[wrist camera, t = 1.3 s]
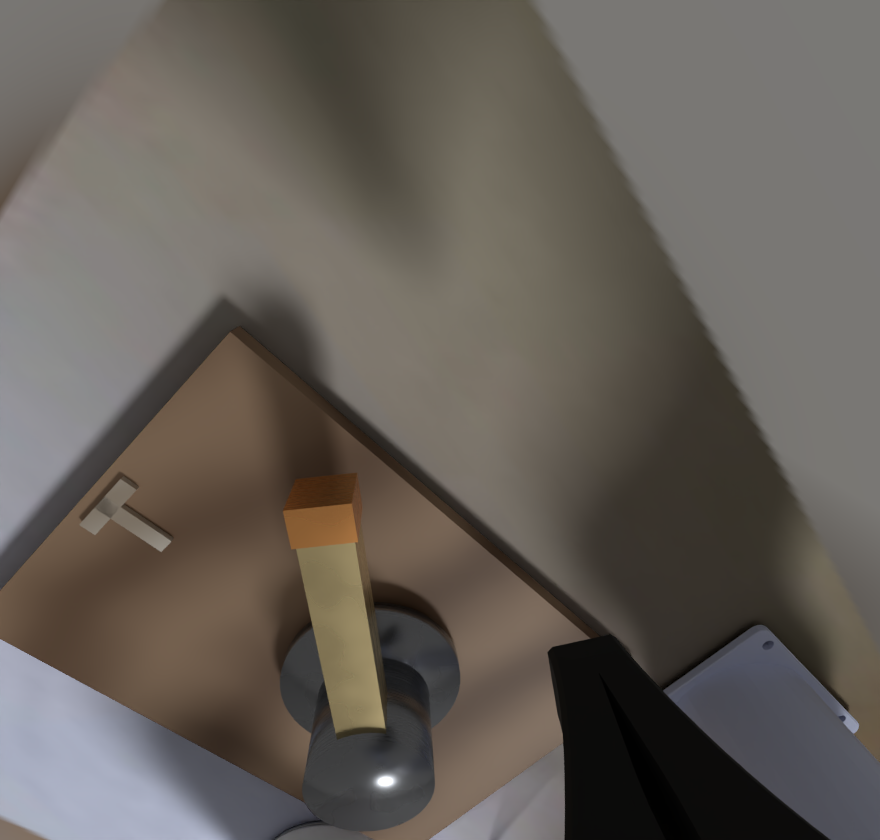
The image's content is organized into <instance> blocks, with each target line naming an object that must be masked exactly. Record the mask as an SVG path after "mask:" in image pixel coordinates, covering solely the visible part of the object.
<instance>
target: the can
mask: <svg viewBox="0 0 880 840" xmlns="http://www.w3.org/2000/svg"><path fill="white" fill-rule="evenodd" d="M274 840H373V839H371V838H370V837H368V836H366V835H364V834H362V833H360V832H358V831H351V830H345V829H341V828H337V827H334V826H332V825H329V824H327V823H325V822H323V821H317V822H310V823H305V824H301V825H298V826H295V827H293V828H291V829H288V830H287V831H285V832H283V833H282V834H280V835H279V836H278V837H277V838H275V839H274Z"/></svg>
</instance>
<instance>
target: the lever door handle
mask: <svg viewBox="0 0 880 840" xmlns="http://www.w3.org/2000/svg"><path fill="white" fill-rule="evenodd" d="M362 508H363V507H362V501H361V494H360V488H359V481H358V475H357V473H349V474H339V475H330V476H320V477H310V478H301V479H296V480H295V482H294V485H293V487H292V490H291V492H290V495H289V497H288V499H287V502H286V504H285V507H284V509H283V514H284V519H285V523H286V528H287V533H288V537H289V542H290V546H291V549H296V551H297V555H298V560H299V565H300V569H301V574H302V579H303V583H304V588H305V593H306V597H307V602H308V607H309V611H310V616H311V622H310V623H308V624H307V625H306V626H305V627H304V628H303V629H302V630H301V631H300V632H299V633H298V634H297V635H296V637H295V638H294V639H293V641H292V642H291V644H290V646H289V648H288V650H287V653H286V655H285V659H284V662H283V666H282V670H281V675H280V691H281V697H282V699H283V702H284V705H285V707H286V708H287V710H288V712H289V713H290V715H291V716H292V717H293V719H294V720H295V721H296V722H297V723H298V724H299V725H300V726H301V727H303V728H304V729H305V730H307V731H308V732H309V733H311V738H310V744H309V750H308V756H307V762H306V767H305V773H304V779H303V785H302V794H303V798H304V801H305V803H306V805H307V807H308V808H309V810H310V811H311V812H312V813H313V814H314V815H315V816H316V817H317V818H319V819H320V820H322V821H323V822H325V823H327V824H329V825H332V826H334V827H337V828H341V829H345V830H351V831H378V830H384V829H388V828H392V827H395V826H398V825H400V824H403V823H405V822H407V821H409V820H410V819H412V818H414V817H415V816H416V815H418V814H419V813H420V812H421V811H422V810H423V809H424V808H425V807H426V806H427V805H428V803H429V802H430V800H431V798H432V796H433V793H434V789H435V774H434V759H433V743H432V728H433V727H434V726H435V725H437V724H438V723H439V722H440V721H441V720H442V719H443V718H444V717H445V716H446V715H447V713H448V712H449V711H450V709H451V708H452V706H453V704H454V702H455V701H456V698H457V695H458V692H459V687H460V668H459V661H458V655H457V652H456V649H455V646H454V644H453V642H452V640H451V638H450V637H449V635H448V634H447V633H446V632H445V630H444V629H443V628H442V627H441V626H440V625H439V624H438V623H436V622H435V621H434V620H432V619H431V618H429V617H428V616H426V615H424V614H422V613H421V612H419V611H416V610H414V609H411V608H409V607H405V606H401V605H398V604H392V603H385V602H373V596H372V590H371V583H370V577H369V570H368V564H367V558H366V551H365V545H364V538H363V532H362V526H361V516H362Z"/></svg>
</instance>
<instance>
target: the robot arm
mask: <svg viewBox="0 0 880 840" xmlns="http://www.w3.org/2000/svg"><path fill="white" fill-rule="evenodd" d="M547 653H548V659H549V665H550V671H551V678H552V684H553V690H554V696H555V702H556V708H557V714H558V718H559V721H560V725H561V729H562V733H563V746H564V770H565V840H880V763H879V762H878V761H877V760H876V759H875V757H874V756H873V755H872V754H871V753H870V752H869V751H868V750H867V749H866V747H865V746H864V745H863V744H862V743H861V742H860V741H859V740H858V739H857V737H856V736H855V735H854V734H853V733H855V732H856V731H857V730H858V728H859V724H858V722H857V721H856V720H855V719H854V718H853V717H852V715H851V714H850V713H849V712H848V711H847V710H846V709H845V708H844V707H843V706H842V705H841V704H840V703H839V702H838V701H837V700H836V699H835V698H834V697H833V696H832V695H831V694H830V693H829V692H828V690H827V689H826V688H825V687H824V686H823V685H822V684H821V683H820V682H819V681H818V680H817V679H816V678H815V677H814V676H813V675H812V674H811V673H810V672H809V671H808V670H807V669H806V668H805V666H804V665H803V664H802V663H801V662H800V661H799V660H798V659H797V658H796V657H795V656H794V655H793V654H792V653H791V652H790V651H789V650H788V649H787V648H786V647H785V646H784V645H783V644H782V642H781V641H780V640H779V639H778V638H777V637H776V636H775V635H774V634H773V633H772V632H771V631H770V630H769V629H768V628H767V627H766V626H764V625H756V626H753V627H751V628H750V629H749V630H747V631H746V632H744V633H743V634H742V635H740V636H739V637H737V638H736V639H735V640H733V641H732V642H730V643H729V644H727V645H726V646H725V647H723V648H722V649H720V650H719V651H718V652H716V653H715V654H713V655H712V656H711V657H709V658H708V659H706V660H705V661H704V662H702V663H701V664H699V665H698V666H697V667H695V668H694V669H692V670H691V671H690V672H688V673H687V674H685V675H684V676H683V677H681V678H680V679H678V680H677V681H676V682H674V683H673V684H671V685H670V686H668V687H667V688H666V689H664V690H662V689H661V688H660V687H659V686H658V685H657V684H656V683H655V682H654V681H653V680H652V679H651V678H650V677H649V676H648V674H647V673H646V672H645V671H644V670H643V669H642V668H641V667H640V666H639V665H638V663H637V662H636V661H635V660H634V659H633V658H632V657H631V655H630V654H629V653H628V652H627V651H626V650H625V648H624V647H623V646H622V645H621V644H620V642H619V641H618V640H617V639H616V638H615V637H614V636H612V635H610V634H609V635H605V636H600V637H596V638H591V639H586V640H582V641H577V642H573V643H568V644H563V645H559V646H554V647H552V648H551V649H550V650H549V651H548V652H547Z"/></svg>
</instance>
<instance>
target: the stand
mask: <svg viewBox="0 0 880 840" xmlns="http://www.w3.org/2000/svg"><path fill="white" fill-rule="evenodd" d="M349 473H357V475H358V481H359V488H360V494H361V501H362V507H363V508H362V516H361V526H362V532H363V538H364V545H365V551H366V558H367V564H368V570H369V577H370V583H371V590H372V596H373V602H385V603H392V604H398V605H401V606H405V607H409V608H411V609H414V610H416V611H419V612H421V613H422V614H424V615H426V616H428V617H429V618H431V619H432V620H434V621H435V622H436V623H438V624H439V625H440V626H441V627H442V628H443V629H444V630H445V632H446V633H447V634H448V635H449V637H450V638H451V640H452V642H453V644H454V646H455V649H456V652H457V655H458V661H459V668H460V687H459V692H458V695H457V698H456V701H455V702H454V704H453V706H452V708H451V709H450V711H449V712H448V713H447V715H446V716H445V717H444V718H443V719H442V720H441V721H440V722H439V723H438V724H437V725H435V726H434V727H433V728H432V743H433V759H434V774H435V789H434V793H433V796H432V798H431V800H430V802H429V803H428V805H427V806H426V807H425V808H424V809H423V810H422V811H421V812H420V813H419V814H418V815H416V816H415V817H414V818H412V819H410V820H409V821H407V822H405V823H403V824H400V825H398V826H395V827H392V828H388V829H384V830H378V831H358V832H360V833H362V834H364V835H366V836H368V837H370V838H371V839H373V840H429V839H430V838H432V837H433V836H434V835H436V834H437V833H439V832H440V831H441V830H443V829H444V828H445V827H447V826H448V825H450V824H451V823H452V822H454V821H455V820H457V819H458V818H459V817H461V816H462V815H463V814H465V813H466V812H468V811H469V810H470V809H472V808H473V807H475V806H476V805H477V804H479V803H480V802H481V801H483V800H484V799H486V798H487V797H488V796H490V795H491V794H493V793H494V792H495V791H497V790H498V789H500V788H501V787H502V786H504V785H505V784H506V783H508V782H509V781H511V780H512V779H513V778H515V777H516V776H518V775H519V774H520V773H522V772H523V771H524V770H526V769H527V768H529V767H530V766H531V765H533V764H534V763H536V762H537V761H538V760H540V759H541V758H542V757H544V756H545V755H547V754H548V753H549V752H551V751H552V750H554V749H555V748H556V747H558V746H559V745H560V744H562V743H563V733H562V729H561V725H560V721H559V718H558V714H557V708H556V702H555V696H554V690H553V684H552V678H551V671H550V665H549V659H548V653H547V652H548V651H549V650H550V649H551V648H552V647H554V646H559V645H563V644H568V643H573V642H577V641H582V640H586V639H591V638H596V637H600V636H599V635H598V634H597V633H596V632H594V631H593V630H592V629H591V628H590V627H589V626H587V625H586V624H585V623H584V622H583V621H582V620H581V619H579V618H578V617H577V616H576V615H575V614H574V613H572V612H571V611H570V610H569V609H568V608H567V607H565V606H564V605H563V604H562V603H561V602H560V601H558V600H557V599H556V598H555V597H554V596H553V595H551V594H550V593H549V592H548V591H547V590H546V589H545V588H543V587H542V586H541V585H540V584H539V583H538V582H536V581H535V580H534V579H533V578H532V577H531V576H529V575H528V574H527V573H526V572H525V571H524V570H522V569H521V568H520V567H519V566H518V565H517V564H515V563H514V562H513V561H512V560H511V559H510V558H509V557H507V556H506V555H505V554H504V553H503V552H502V551H500V550H499V549H498V548H497V547H496V546H495V545H493V544H492V543H491V542H490V541H489V540H488V539H486V538H485V537H484V536H483V535H482V534H481V533H479V532H478V531H477V530H476V529H475V528H474V527H473V526H471V525H470V524H469V523H468V522H467V521H466V520H464V519H463V518H462V517H461V516H460V515H459V514H457V513H456V512H455V511H454V510H453V509H452V508H450V507H449V506H448V505H447V504H446V503H445V502H443V501H442V500H441V499H440V498H439V497H438V496H437V495H435V494H434V493H433V492H432V491H431V490H430V489H428V488H427V487H426V486H425V485H424V484H423V483H421V482H420V481H419V480H418V479H417V478H416V477H414V476H413V475H412V474H411V473H410V472H409V471H407V470H406V469H405V468H404V467H403V466H402V465H401V464H399V463H398V462H397V461H396V460H395V459H394V458H392V457H391V456H390V455H389V454H388V453H387V452H385V451H384V450H383V449H382V448H381V447H380V446H378V445H377V444H376V443H375V442H374V441H373V440H371V439H370V438H369V437H368V436H367V435H366V434H365V433H363V432H362V431H361V430H360V429H359V428H358V427H356V426H355V425H354V424H353V423H352V422H351V421H349V420H348V419H347V418H346V417H345V416H344V415H342V414H341V413H340V412H339V411H338V410H337V409H335V408H334V407H333V406H332V405H331V404H330V403H329V402H327V401H326V400H325V399H324V398H323V397H322V396H320V395H319V394H318V393H317V392H316V391H315V390H313V389H312V388H311V387H310V386H309V385H308V384H306V383H305V382H304V381H303V380H302V379H301V378H299V377H298V376H297V375H296V374H295V373H294V372H293V371H291V370H290V369H289V368H288V367H287V366H286V365H284V364H283V363H282V362H281V361H280V360H279V359H277V358H276V357H275V356H274V355H273V354H272V353H270V352H269V351H268V350H267V349H266V348H265V347H263V346H262V345H261V344H260V343H259V342H258V341H257V340H255V339H254V338H253V337H252V336H251V335H250V334H248V333H247V332H246V331H245V330H244V329H243V328H241V327H240V326H239V327H237V328H235V329H234V330H232V331H230V332H229V333H228V335H227V336H226V337H225V338H224V339H223V340H222V341H221V342H220V344H219V345H218V346H217V347H216V348H215V349H214V350H213V351H212V353H211V354H210V355H209V356H208V357H207V358H206V359H205V360H204V362H203V363H202V364H201V365H200V366H199V367H198V368H197V369H196V371H195V372H194V373H193V374H192V375H191V376H190V377H189V378H188V380H187V381H186V382H185V383H184V384H183V385H182V386H181V387H180V389H179V390H178V391H177V392H176V393H175V394H174V395H173V397H172V398H171V399H170V400H169V401H168V402H167V403H166V404H165V406H164V407H163V408H162V409H161V410H160V411H159V412H158V413H157V415H156V416H155V417H154V418H153V419H152V420H151V421H150V422H149V424H148V425H147V426H146V427H145V428H144V429H143V430H142V431H141V433H140V434H139V435H138V436H137V437H136V438H135V439H134V440H133V442H132V443H131V444H130V445H129V446H128V447H127V448H126V449H125V451H124V452H123V453H122V454H121V455H120V456H119V457H118V458H117V460H116V461H115V462H114V463H113V464H112V465H111V466H110V467H109V469H108V470H107V471H106V472H105V473H104V474H103V475H102V476H101V478H100V479H99V480H98V481H97V482H96V483H95V484H94V485H93V487H92V488H91V489H90V490H89V491H88V492H87V493H86V494H85V496H84V497H83V498H82V499H81V500H80V501H79V502H78V504H77V505H76V506H75V507H74V508H73V509H72V510H71V511H70V513H69V514H68V515H67V516H66V517H65V518H64V519H63V520H62V522H61V523H60V524H59V525H58V526H57V527H56V528H55V529H54V531H53V532H52V533H51V534H50V535H49V536H48V537H47V538H46V540H45V541H44V542H43V543H42V544H41V545H40V546H39V547H38V549H37V550H36V551H35V552H34V553H33V554H32V555H31V556H30V558H29V559H28V560H27V561H26V562H25V563H24V564H23V565H22V567H21V568H20V569H19V570H18V571H17V572H16V573H15V574H14V576H13V577H12V578H11V579H10V580H9V581H8V582H7V583H6V585H5V586H4V587H3V588H2V589H1V590H0V639H1V640H3V641H5V642H7V643H9V644H11V645H13V646H14V647H16V648H18V649H20V650H22V651H24V652H26V653H27V654H29V655H31V656H33V657H35V658H37V659H39V660H40V661H42V662H44V663H46V664H48V665H50V666H52V667H53V668H55V669H57V670H59V671H61V672H63V673H65V674H66V675H68V676H70V677H72V678H74V679H76V680H78V681H80V682H81V683H83V684H85V685H87V686H89V687H91V688H93V689H94V690H96V691H98V692H100V693H102V694H104V695H106V696H107V697H109V698H111V699H113V700H115V701H117V702H119V703H120V704H122V705H124V706H126V707H128V708H130V709H132V710H133V711H135V712H137V713H139V714H141V715H143V716H145V717H146V718H148V719H150V720H152V721H154V722H156V723H158V724H159V725H161V726H163V727H165V728H167V729H169V730H171V731H172V732H174V733H176V734H178V735H180V736H182V737H184V738H185V739H187V740H189V741H191V742H193V743H195V744H197V745H198V746H200V747H202V748H204V749H206V750H208V751H210V752H211V753H213V754H215V755H217V756H219V757H221V758H223V759H225V760H226V761H228V762H230V763H232V764H234V765H236V766H238V767H239V768H241V769H243V770H245V771H247V772H249V773H251V774H252V775H254V776H256V777H258V778H260V779H262V780H264V781H265V782H267V783H269V784H271V785H273V786H275V787H277V788H278V789H280V790H282V791H284V792H286V793H288V794H290V795H291V796H293V797H295V798H297V799H299V800H301V801H303V802H304V803H305V801H304V798H303V794H302V785H303V779H304V773H305V767H306V762H307V756H308V750H309V744H310V738H311V733H309V732H308V731H307V730H305V729H304V728H303V727H301V726H300V725H299V724H298V723H297V722H296V721H295V720H294V719H293V717H292V716H291V715H290V713H289V712H288V710H287V708H286V707H285V705H284V702H283V699H282V697H281V691H280V675H281V670H282V666H283V662H284V659H285V655H286V653H287V650H288V648H289V646H290V644H291V642H292V641H293V639H294V638H295V637H296V635H297V634H298V633H299V632H300V631H301V630H302V629H303V628H304V627H305V626H306V625H307V624H308V623H310V622H311V616H310V611H309V607H308V602H307V597H306V593H305V588H304V583H303V579H302V574H301V569H300V565H299V560H298V555H297V551H296V549H291V546H290V542H289V537H288V533H287V528H286V523H285V519H284V514H283V509H284V507H285V504H286V502H287V499H288V497H289V495H290V492H291V490H292V487H293V485H294V482H295V480H296V479H301V478H310V477H320V476H330V475H339V474H349Z"/></svg>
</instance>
